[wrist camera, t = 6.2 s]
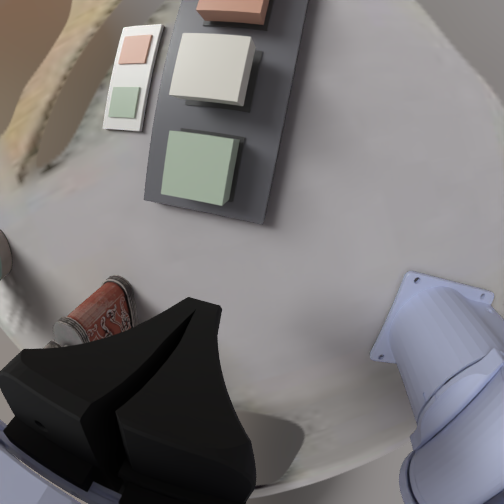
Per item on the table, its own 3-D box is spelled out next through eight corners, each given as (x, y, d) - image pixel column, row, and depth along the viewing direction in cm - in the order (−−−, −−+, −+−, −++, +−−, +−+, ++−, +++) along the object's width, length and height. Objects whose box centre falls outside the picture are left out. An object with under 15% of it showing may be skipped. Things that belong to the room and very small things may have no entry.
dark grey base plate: (311, -15, 13) (312, -25, 12) (264, 219, 20) (262, 225, 18) (197, -24, 14) (191, -32, 12) (151, 196, 20) (142, 200, 19)
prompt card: (163, 25, 15) (160, 23, 15) (142, 131, 18) (137, 131, 18) (126, 28, 16) (122, 26, 15) (105, 128, 19) (101, 128, 18)
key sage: (239, 139, 16) (233, 139, 15) (229, 199, 18) (222, 205, 16) (181, 131, 16) (169, 130, 15) (172, 188, 18) (160, 193, 16)
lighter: (140, 355, 26) (89, 433, 16) (110, 345, 26) (55, 414, 16) (136, 280, 23) (61, 355, 13) (102, 271, 23) (23, 335, 14)
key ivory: (255, 47, 13) (250, 36, 12) (243, 106, 15) (237, 101, 13) (193, 42, 14) (182, 32, 12) (181, 99, 15) (168, 94, 13)
